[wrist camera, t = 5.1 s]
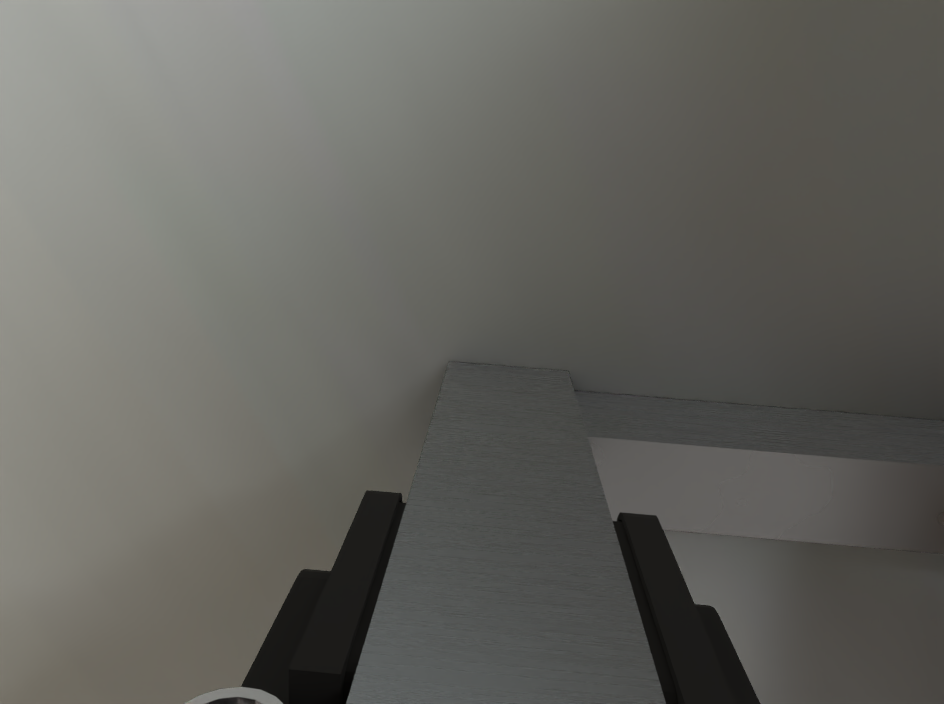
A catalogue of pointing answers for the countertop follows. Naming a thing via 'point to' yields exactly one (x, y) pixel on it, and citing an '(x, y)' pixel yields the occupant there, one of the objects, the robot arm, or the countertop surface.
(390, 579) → the grey angled piece
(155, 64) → the countertop surface
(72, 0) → the countertop surface
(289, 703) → the robot arm
